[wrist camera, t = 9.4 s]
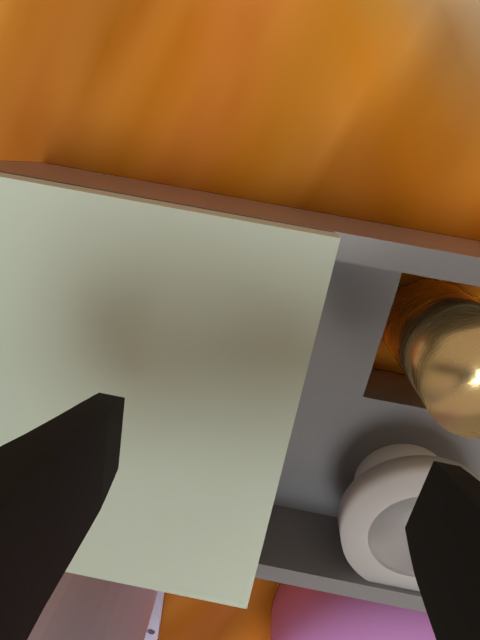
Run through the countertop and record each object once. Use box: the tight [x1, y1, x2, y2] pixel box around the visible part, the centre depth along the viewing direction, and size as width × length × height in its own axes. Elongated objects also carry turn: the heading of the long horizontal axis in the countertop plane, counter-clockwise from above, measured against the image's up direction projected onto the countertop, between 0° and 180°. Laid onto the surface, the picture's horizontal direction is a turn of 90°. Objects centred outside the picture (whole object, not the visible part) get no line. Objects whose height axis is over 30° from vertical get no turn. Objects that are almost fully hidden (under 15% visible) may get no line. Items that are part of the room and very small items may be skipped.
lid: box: [0, 172, 341, 609], centre depth 12 cm, size 14×12×3 cm
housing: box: [0, 161, 480, 613], centre depth 17 cm, size 14×24×6 cm, turn 81°
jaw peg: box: [382, 279, 480, 439], centre depth 16 cm, size 4×4×6 cm
